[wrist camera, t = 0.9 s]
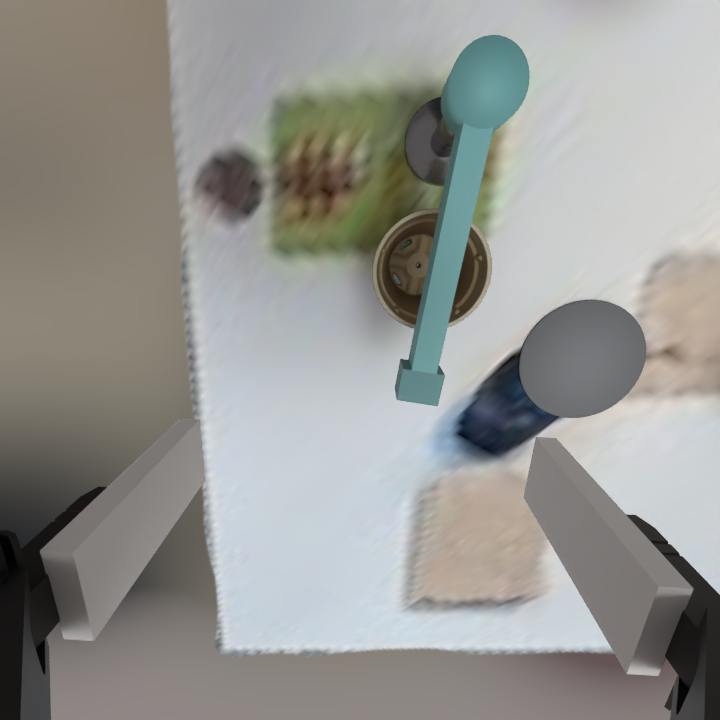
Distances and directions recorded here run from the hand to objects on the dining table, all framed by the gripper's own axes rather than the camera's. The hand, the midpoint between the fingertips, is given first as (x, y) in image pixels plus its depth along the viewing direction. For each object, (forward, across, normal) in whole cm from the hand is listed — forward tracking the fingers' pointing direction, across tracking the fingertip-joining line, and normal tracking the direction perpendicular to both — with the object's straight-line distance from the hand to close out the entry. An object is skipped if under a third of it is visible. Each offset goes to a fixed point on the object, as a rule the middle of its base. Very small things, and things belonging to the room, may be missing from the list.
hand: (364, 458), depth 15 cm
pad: (+26, +23, -3) cm, 35 cm away
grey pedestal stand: (+27, +6, +17) cm, 32 cm away
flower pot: (+27, +5, +6) cm, 28 cm away
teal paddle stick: (+15, +5, +8) cm, 18 cm away
